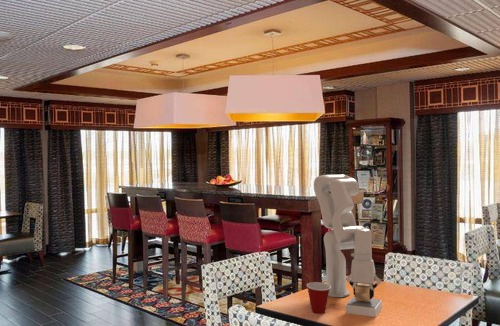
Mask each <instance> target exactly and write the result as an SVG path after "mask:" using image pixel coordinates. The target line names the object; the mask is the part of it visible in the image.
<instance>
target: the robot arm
mask: <svg viewBox="0 0 500 326" xmlns="http://www.w3.org/2000/svg"><path fill="white" fill-rule="evenodd" d="M313 191H314V195H315V197H316V199H317V200H318V204H319V208H320V212H321V217H322V223H323V225H324V227H325V228H327V229H329V231H327V232H325V234H324V236H323V242H324V243H323V244H324V248H325V263H326V266H325V268H326V269H325V271H326V274H325V275H326V284H328V285H330V286H331V288H330V290H329V293H328V297H330V298H344V297H345V298H346V297H348V296H349V295H350V290H348V289H347V282H348V284H349V285H350V286H351V287H352V290H353V291H352V292H353V295H354V296H355V286H356V285H357V284H358V283H361V284H369V286H370V299H374V297H375V293H374V292H375V289H376V288H377V287H378V286H380V284H381V283H382V280H381V279H380V278H379V277H378V276H377V274H376V268H375V262H374V259H373V257H372V255H373V251H372V249H373V248H372V247H373V246H372V244H373V243H372V241H373V240H372V230H371V229H370V228H367V227H364V226H362V225H357V223H356V218H355V215H354V213H353V212H352V211H353V209H354V208H355V204H354V201H353V199H352V196H353V197H354V196H357V195H358V194H359V192H360V185H359V182H358V181H357V180H356V179H355V178H353V177H351V176H349V175H347V174H342V173H341V174H323V175H318V176H317V177H315V178H314V180H313ZM330 229H333V230H330ZM351 249H353V251H354V252H352V253H350V256H351V257H353V259H352V261H351V266H350V274H349V275H348V276H347V262H346V257H345V255H344V253H343V252H342V251H341V250H351Z"/></svg>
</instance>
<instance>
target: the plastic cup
mask: <svg viewBox="0 0 500 326" xmlns="http://www.w3.org/2000/svg"><path fill="white" fill-rule="evenodd" d="M305 285H306V288H307V291H308V292H307V293H308V297H309V303H310V306H311V307H310V309H311V313H312V314H316V315H322V314H325V313H326V311H327V310H326V309H327V304H328V299H329V298H328V297H329V296H328V293H329V290H330V288H331V286H330V285H328V284H327V283H325V282H321V281H320V282H318V281H317V282H316V281H313V282H308V283H306V284H305Z"/></svg>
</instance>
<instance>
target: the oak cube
mask: <svg viewBox="0 0 500 326" xmlns="http://www.w3.org/2000/svg"><path fill="white" fill-rule="evenodd" d="M354 297H355V300H358V301H367V302H369V301H370V300H371V299H370V286H369V284H363V283H358V284H357V285H356V286H355V295H354Z"/></svg>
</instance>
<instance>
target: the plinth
mask: <svg viewBox="0 0 500 326" xmlns="http://www.w3.org/2000/svg"><path fill="white" fill-rule="evenodd" d="M344 307H345V314H349V315H357V316H365V317H371V318H376V317H377V316H378V315H379V313H380V312H381V310H382V309H383V300H381V299H378V298H372V299H371V300H370V301H369V302H367V301H358V300H355V296H353V297H352V298H350V300H349V301H348V302H347V303H346V304H345V305H344ZM377 314H378V315H377Z"/></svg>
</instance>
